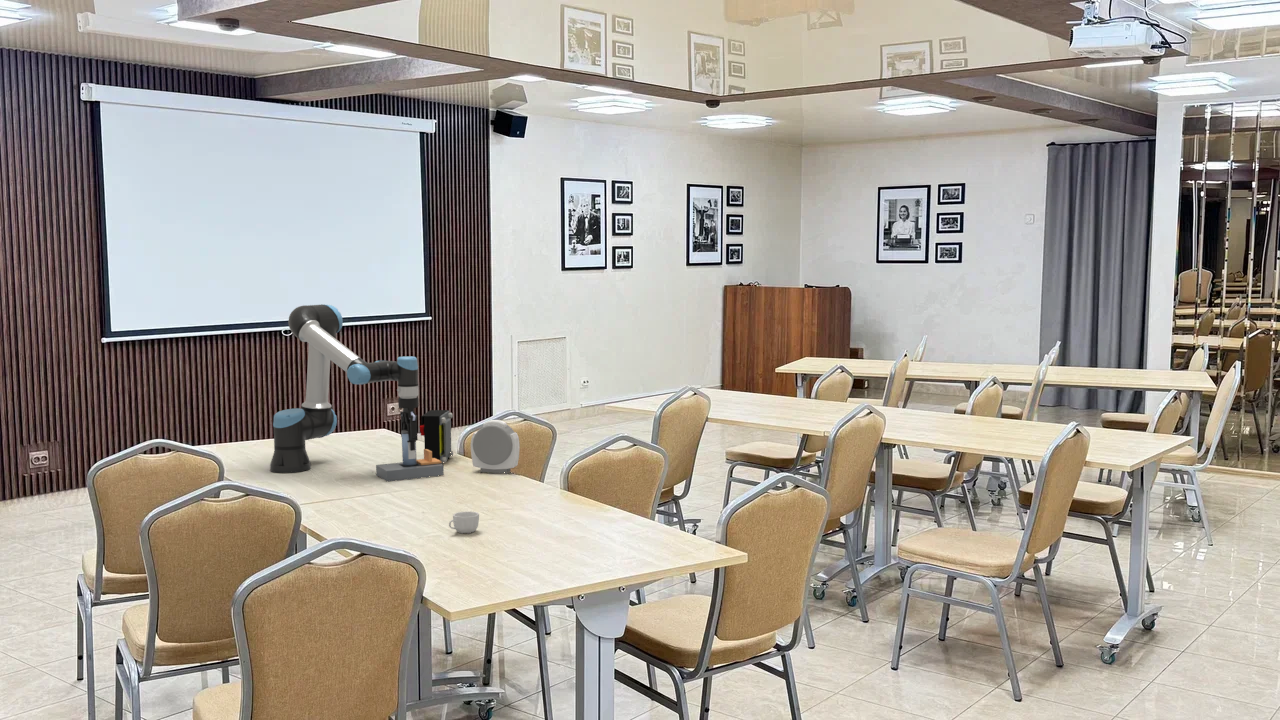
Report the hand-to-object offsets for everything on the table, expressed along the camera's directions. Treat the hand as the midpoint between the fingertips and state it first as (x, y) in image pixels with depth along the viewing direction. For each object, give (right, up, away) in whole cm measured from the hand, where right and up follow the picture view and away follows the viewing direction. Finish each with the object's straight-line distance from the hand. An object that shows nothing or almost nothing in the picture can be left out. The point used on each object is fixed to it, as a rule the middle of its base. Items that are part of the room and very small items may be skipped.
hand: (409, 457), depth 400 cm
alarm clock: (+32, -7, +8) cm, 33 cm away
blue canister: (0, -2, 0) cm, 3 cm away
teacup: (+35, -15, -85) cm, 93 cm away
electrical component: (+5, -5, +30) cm, 31 cm away
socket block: (0, -7, +1) cm, 7 cm away
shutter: (+6, -2, +4) cm, 8 cm away
